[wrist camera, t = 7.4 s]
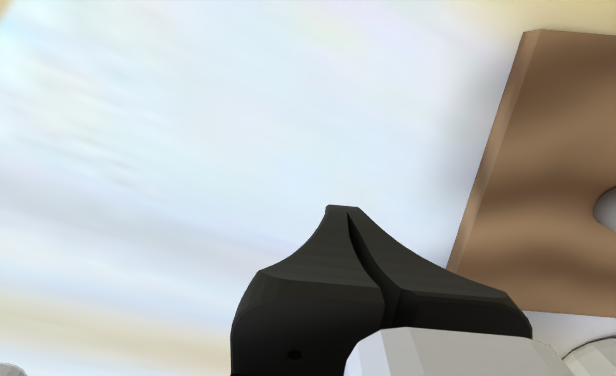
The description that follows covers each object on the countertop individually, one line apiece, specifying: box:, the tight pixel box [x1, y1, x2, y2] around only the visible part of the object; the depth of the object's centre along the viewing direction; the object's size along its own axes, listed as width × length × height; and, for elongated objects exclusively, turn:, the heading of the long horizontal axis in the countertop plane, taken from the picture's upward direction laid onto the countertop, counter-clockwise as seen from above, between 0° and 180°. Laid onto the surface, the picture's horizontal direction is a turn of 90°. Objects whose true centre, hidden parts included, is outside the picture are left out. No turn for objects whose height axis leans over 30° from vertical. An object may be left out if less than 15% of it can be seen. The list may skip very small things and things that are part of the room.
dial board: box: [446, 29, 616, 318], centre depth 21 cm, size 20×18×2 cm
